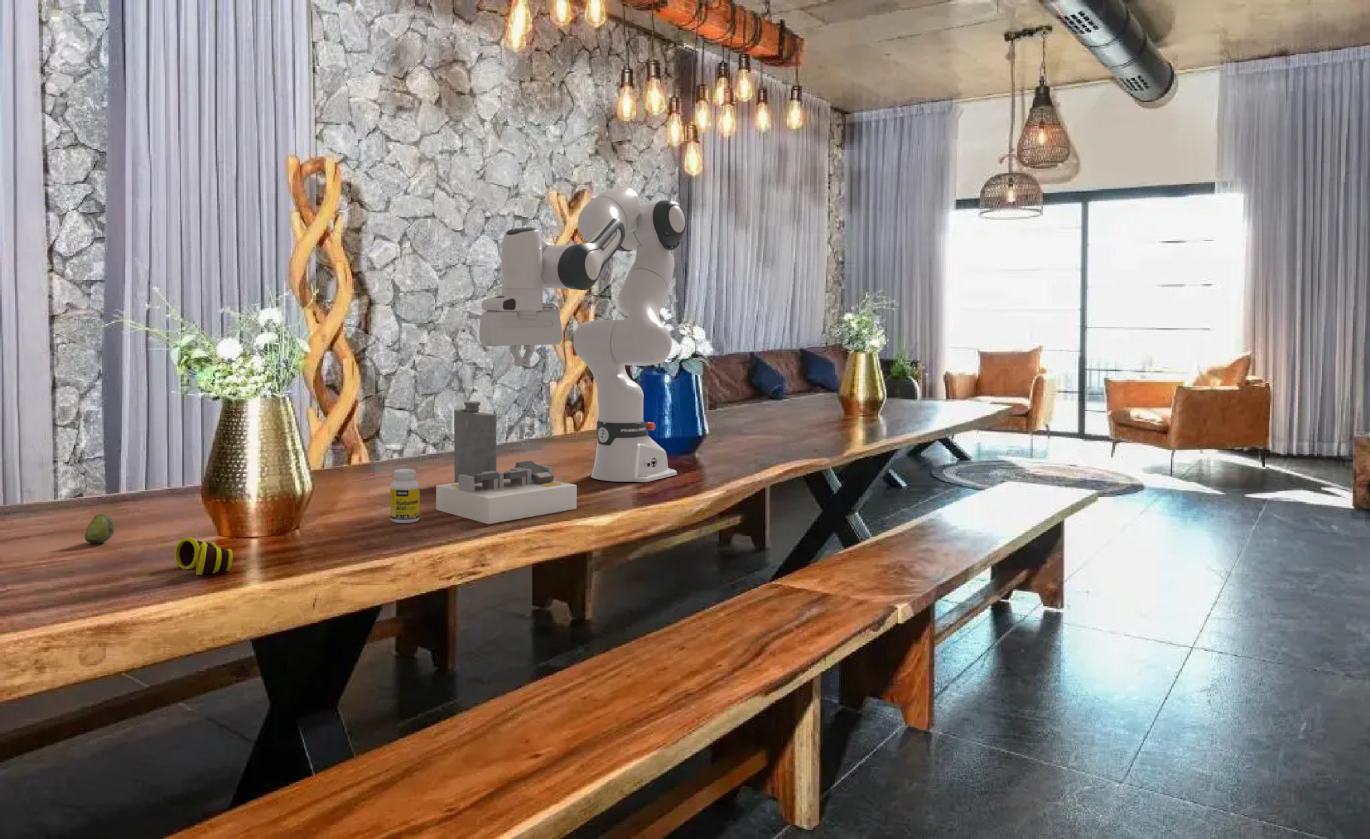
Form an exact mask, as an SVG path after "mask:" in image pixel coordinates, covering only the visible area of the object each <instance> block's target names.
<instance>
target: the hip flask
mask: <svg viewBox="0 0 1370 839" xmlns="http://www.w3.org/2000/svg"><path fill="white" fill-rule="evenodd" d="M463 405H464V406H465V408H455V409H454V410H453V420H454V421H453V422H454V423H453V424H454V425H453V427H454V428H453V432H454V433H453V434H454V435H453V437H454V438H453V444H454V446H453V448H454V453H453V454H454V459H453V460H454V463H453V464H454V476H453V477H454V483H458V482H459V481H458V480H459V475H462V474H463V475H468V476H472V477H473V476H477V474H481V473H482V472H488V471H496V472H498V471H497V453H498V452H497V447H498V446H497V442H498V441H497V438H498V437H497V436H498V435H497V433H498V432H497V428H498V427H497V423H498V422H497V414H495V413H488V412H481V411H480V407H479V406H481V401H476V400H468V401H467V400H466V401H464V403H463Z"/></svg>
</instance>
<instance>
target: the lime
mask: <svg viewBox="0 0 1370 839" xmlns="http://www.w3.org/2000/svg"><path fill="white" fill-rule="evenodd" d="M115 528H116V526H115V522H114V520H113V518H111V517H110V516H109V515H106V514H104V513H99V514H97V515H95V516H94V517H93V519H92V520H91V521H90V522H89V524H88V526H87V528H86V532H85V535H84V537H85V539H84V540H85V541H86V542H87V543H89V544H98V545H99V544H102V543H105V542H106V541H108V540H110V539H112V537H113V535H114V533H115Z"/></svg>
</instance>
